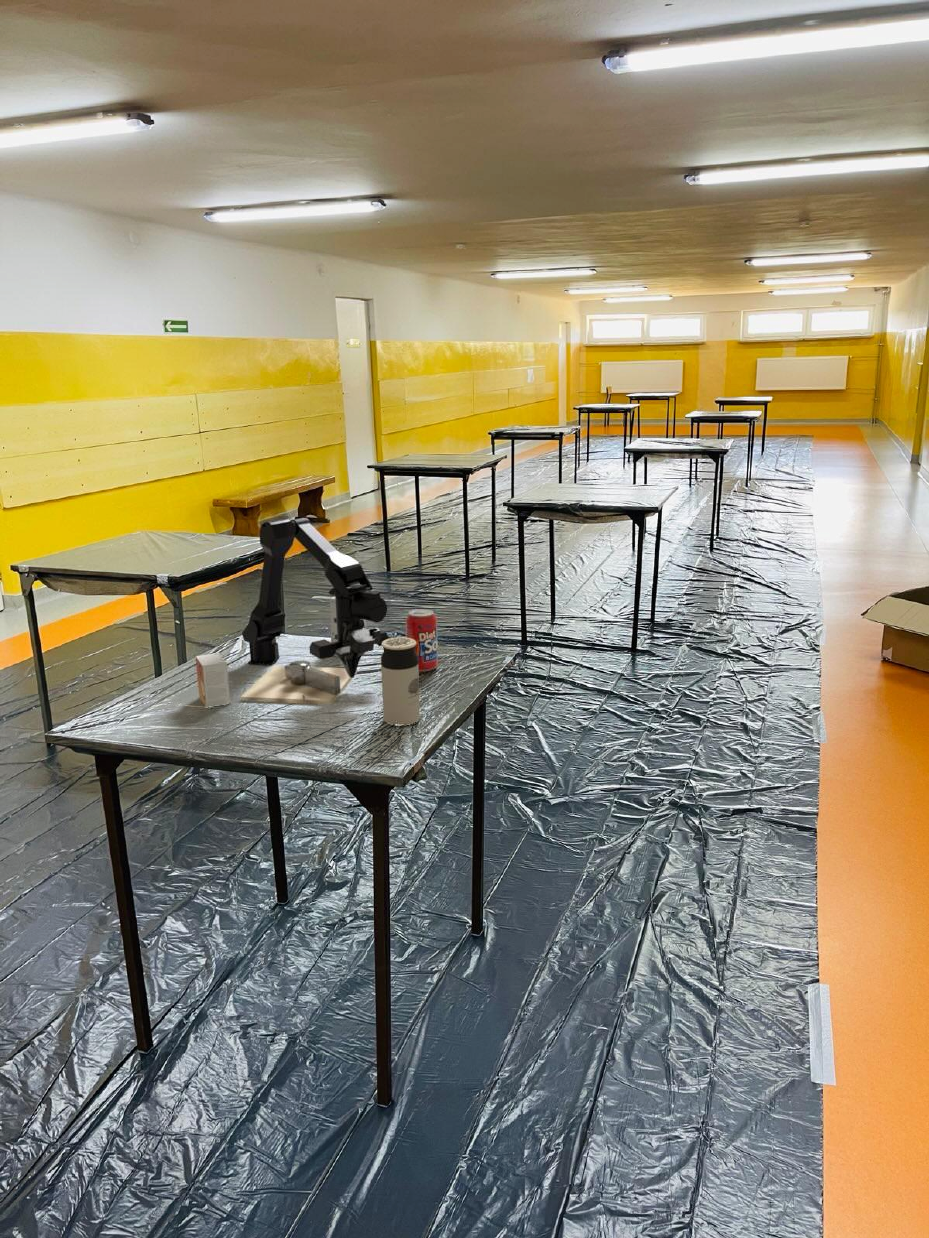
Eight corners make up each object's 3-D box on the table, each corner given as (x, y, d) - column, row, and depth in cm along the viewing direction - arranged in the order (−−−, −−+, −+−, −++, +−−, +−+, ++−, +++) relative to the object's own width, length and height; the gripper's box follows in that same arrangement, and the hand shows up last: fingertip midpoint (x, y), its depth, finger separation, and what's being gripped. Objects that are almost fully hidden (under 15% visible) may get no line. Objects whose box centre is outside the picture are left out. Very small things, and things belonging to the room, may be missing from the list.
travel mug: (376, 720, 192) (372, 642, 187) (403, 710, 197) (400, 634, 192) (400, 730, 186) (397, 650, 181) (427, 719, 192) (425, 641, 187)
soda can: (409, 663, 228) (407, 608, 224) (438, 663, 228) (437, 608, 224) (405, 673, 221) (403, 616, 216) (436, 673, 220) (435, 616, 216)
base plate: (240, 700, 204) (240, 696, 204) (274, 669, 225) (273, 665, 225) (331, 704, 201) (331, 700, 201) (357, 672, 222) (356, 668, 221)
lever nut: (279, 679, 214) (278, 662, 213) (296, 673, 218) (294, 657, 216) (329, 696, 202) (328, 678, 201) (345, 690, 206) (344, 673, 205)
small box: (199, 698, 206) (194, 655, 203) (223, 693, 209) (219, 652, 206) (206, 709, 199) (201, 665, 196) (230, 704, 202) (226, 661, 199)
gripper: (329, 629, 194) (333, 695, 198) (400, 615, 204) (402, 677, 209) (306, 618, 202) (310, 682, 207) (375, 605, 213) (378, 665, 217)
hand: (351, 677), depth 210 cm, fingers closed
